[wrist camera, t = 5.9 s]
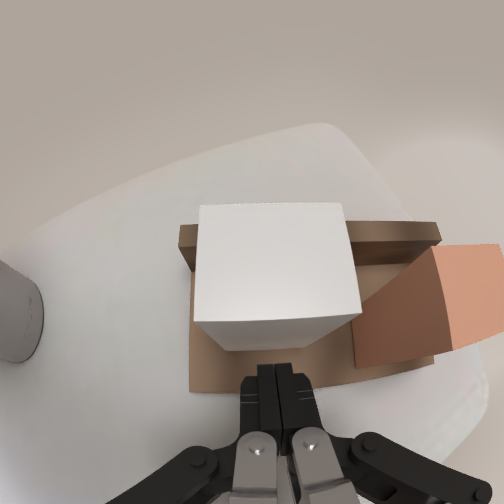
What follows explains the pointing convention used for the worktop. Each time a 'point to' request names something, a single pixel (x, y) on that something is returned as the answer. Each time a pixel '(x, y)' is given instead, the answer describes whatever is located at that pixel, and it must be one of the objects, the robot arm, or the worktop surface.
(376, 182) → the worktop surface
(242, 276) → the grey rectangular block
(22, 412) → the worktop surface
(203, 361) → the console
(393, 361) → the orange tall block
